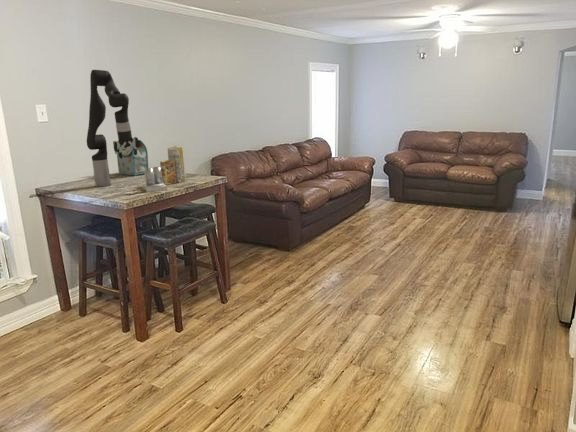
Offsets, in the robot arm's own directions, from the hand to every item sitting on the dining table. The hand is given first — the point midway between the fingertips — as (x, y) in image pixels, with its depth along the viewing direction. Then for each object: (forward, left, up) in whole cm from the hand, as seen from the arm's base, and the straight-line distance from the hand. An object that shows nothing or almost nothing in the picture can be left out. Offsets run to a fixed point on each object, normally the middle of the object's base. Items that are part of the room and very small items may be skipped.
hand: (128, 156), depth 263 cm
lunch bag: (+12, +75, -22) cm, 79 cm away
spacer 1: (+11, +2, -19) cm, 22 cm away
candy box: (+26, +18, -22) cm, 39 cm away
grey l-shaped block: (+14, +6, -22) cm, 27 cm away
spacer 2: (+17, +5, -19) cm, 26 cm away
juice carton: (+33, +23, -22) cm, 46 cm away
